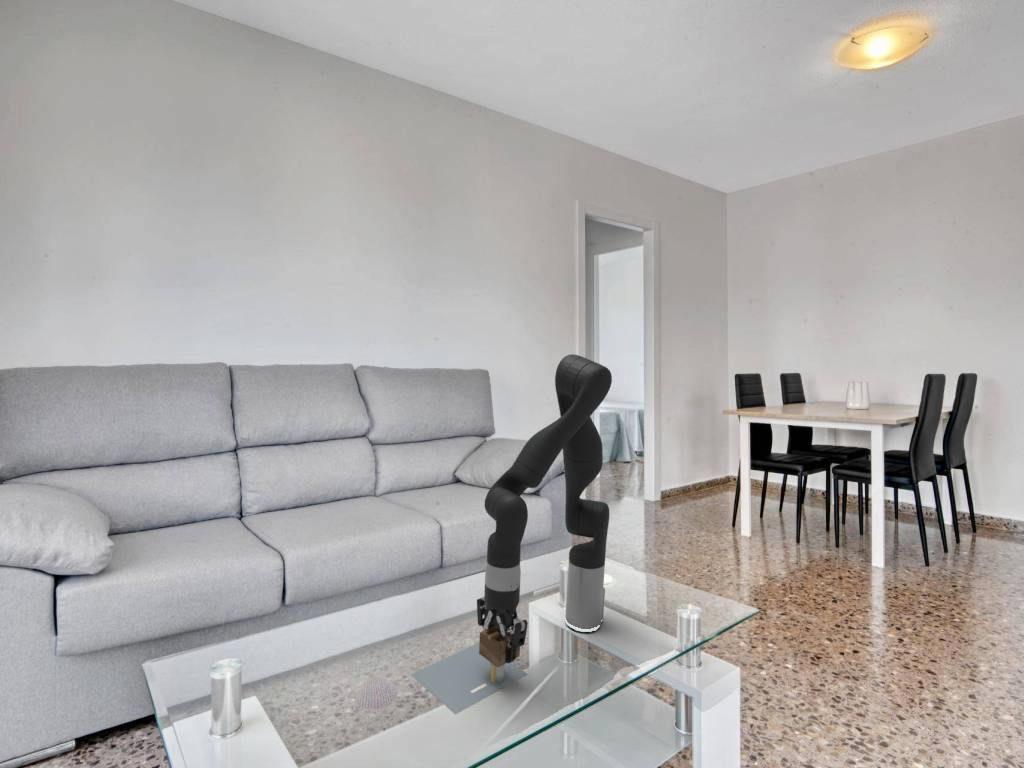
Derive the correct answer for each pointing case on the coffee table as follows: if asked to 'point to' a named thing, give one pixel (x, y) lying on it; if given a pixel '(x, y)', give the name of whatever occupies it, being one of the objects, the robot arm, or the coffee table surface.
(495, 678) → the shaft plate
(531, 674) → the coffee table surface
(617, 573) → the coffee table surface
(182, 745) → the coffee table surface
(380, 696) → the seashell
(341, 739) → the coffee table surface
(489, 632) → the open wooden crate
